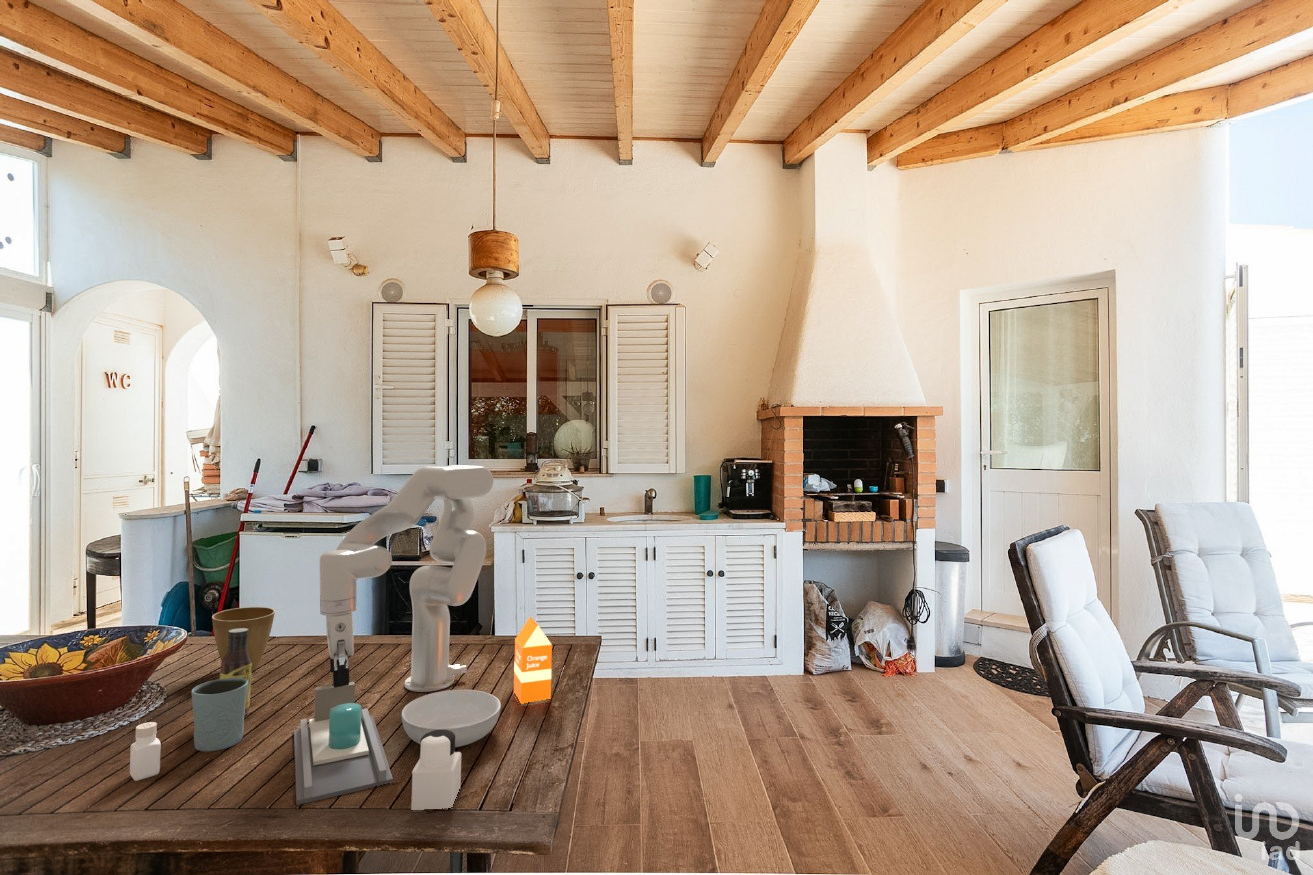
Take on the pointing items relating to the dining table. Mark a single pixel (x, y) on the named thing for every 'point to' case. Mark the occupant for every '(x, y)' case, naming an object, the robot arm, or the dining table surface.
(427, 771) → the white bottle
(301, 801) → the rail base
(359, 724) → the canister
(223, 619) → the plant pot
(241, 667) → the sauce bottle
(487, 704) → the serving bowl
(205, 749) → the grey-blue cup
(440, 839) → the dining table surface
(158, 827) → the dining table surface
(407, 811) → the dining table surface
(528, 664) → the orange juice
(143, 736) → the pepper shaker
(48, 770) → the dining table surface
